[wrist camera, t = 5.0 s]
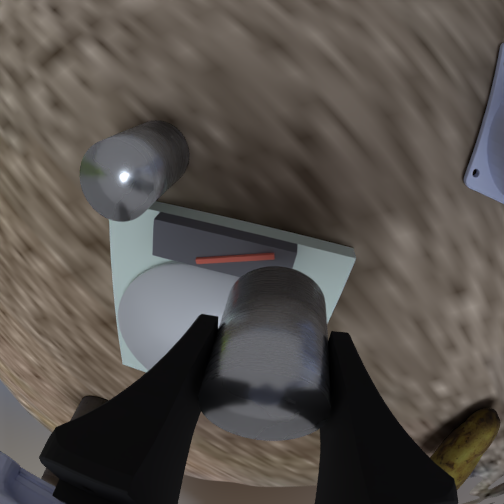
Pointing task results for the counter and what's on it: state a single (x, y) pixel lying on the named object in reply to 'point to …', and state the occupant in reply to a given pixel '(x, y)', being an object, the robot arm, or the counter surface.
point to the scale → (200, 272)
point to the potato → (467, 444)
